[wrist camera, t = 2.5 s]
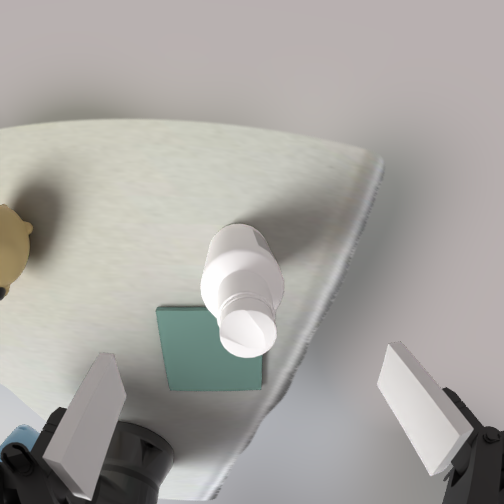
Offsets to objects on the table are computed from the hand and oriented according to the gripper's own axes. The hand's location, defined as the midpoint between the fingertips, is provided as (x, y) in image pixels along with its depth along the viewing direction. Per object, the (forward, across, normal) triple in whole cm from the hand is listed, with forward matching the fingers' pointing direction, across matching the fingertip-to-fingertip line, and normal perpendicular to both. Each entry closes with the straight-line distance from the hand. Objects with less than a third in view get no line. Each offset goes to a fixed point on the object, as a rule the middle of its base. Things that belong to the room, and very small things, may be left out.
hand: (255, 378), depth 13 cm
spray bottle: (+23, 0, 0) cm, 23 cm away
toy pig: (+22, +31, -2) cm, 39 cm away
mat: (+22, +4, +14) cm, 26 cm away
